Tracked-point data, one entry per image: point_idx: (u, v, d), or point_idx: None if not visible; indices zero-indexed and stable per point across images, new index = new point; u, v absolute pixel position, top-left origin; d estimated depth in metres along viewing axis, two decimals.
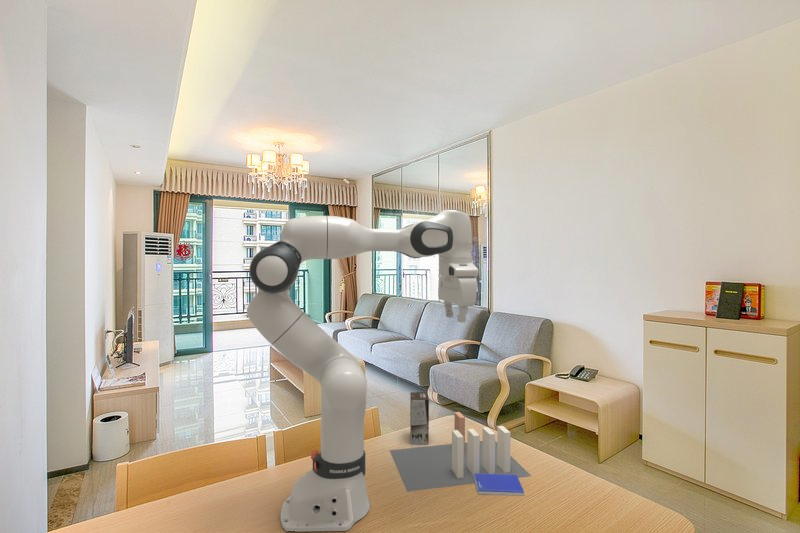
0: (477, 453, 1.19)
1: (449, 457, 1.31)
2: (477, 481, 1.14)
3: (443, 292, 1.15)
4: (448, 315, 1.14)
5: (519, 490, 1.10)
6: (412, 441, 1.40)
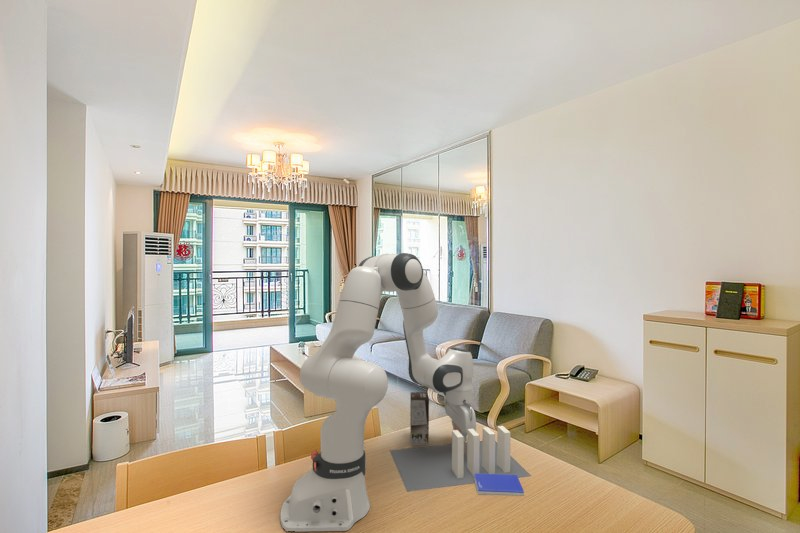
0: (477, 453, 1.19)
1: (449, 457, 1.31)
2: (477, 481, 1.14)
3: None
4: None
5: (519, 490, 1.10)
6: (412, 441, 1.40)
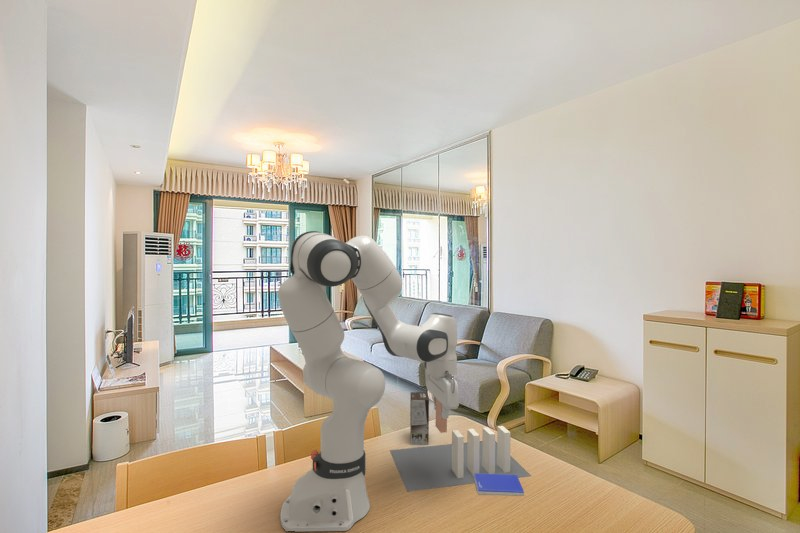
0: (477, 453, 1.19)
1: (449, 457, 1.31)
2: (477, 481, 1.14)
3: None
4: None
5: (519, 490, 1.10)
6: (412, 441, 1.40)
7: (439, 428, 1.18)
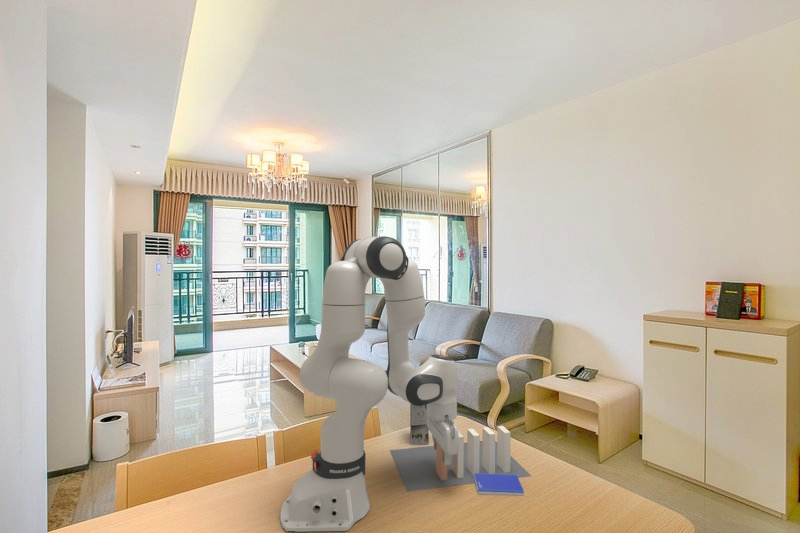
0: (477, 453, 1.19)
1: None
2: (477, 481, 1.14)
3: None
4: None
5: (519, 490, 1.10)
6: (412, 441, 1.40)
7: (440, 475, 1.18)
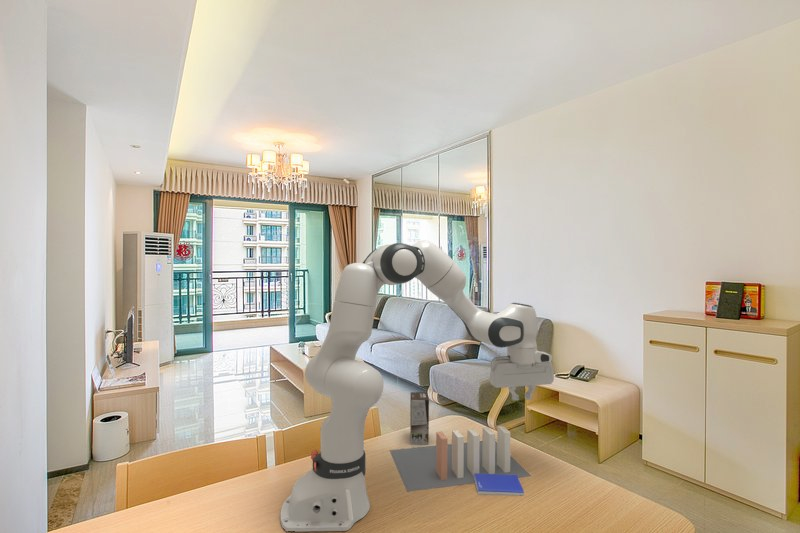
0: (477, 453, 1.19)
1: (449, 457, 1.31)
2: (477, 481, 1.14)
3: (510, 379, 1.22)
4: None
5: (519, 490, 1.10)
6: (412, 441, 1.40)
7: (440, 475, 1.18)
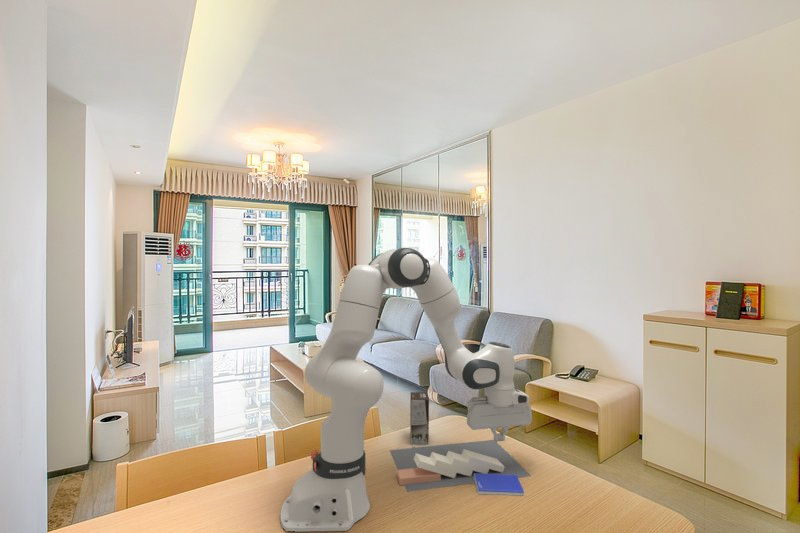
0: (452, 466, 1.18)
1: None
2: (477, 481, 1.14)
3: (487, 420, 1.21)
4: None
5: (519, 490, 1.10)
6: (412, 441, 1.40)
7: None
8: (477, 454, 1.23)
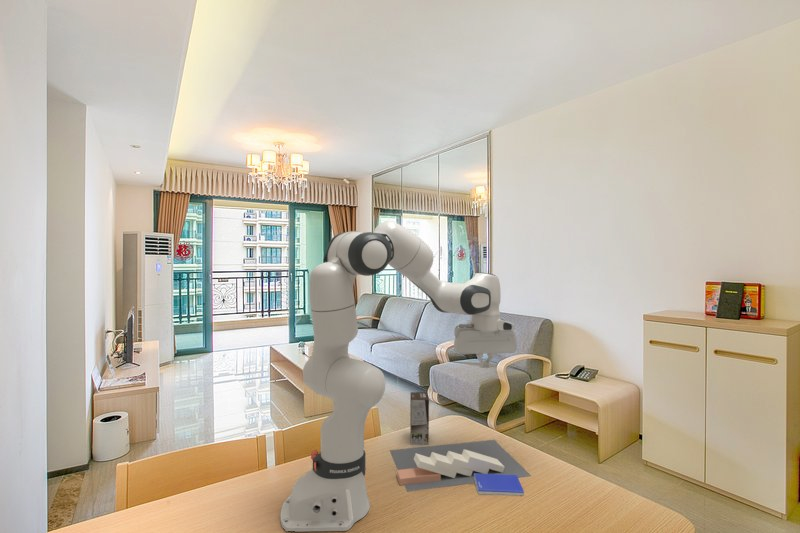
0: (452, 466, 1.18)
1: None
2: (477, 481, 1.14)
3: (473, 346, 1.26)
4: None
5: (519, 490, 1.10)
6: (412, 441, 1.40)
7: None
8: (477, 454, 1.23)
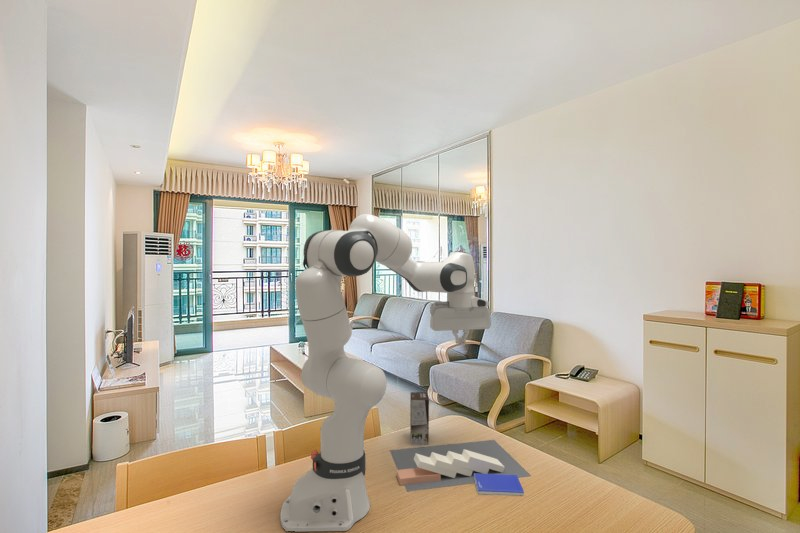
0: (452, 466, 1.18)
1: None
2: (477, 481, 1.14)
3: (448, 323, 1.29)
4: None
5: (519, 490, 1.10)
6: (412, 441, 1.40)
7: None
8: (477, 454, 1.23)
